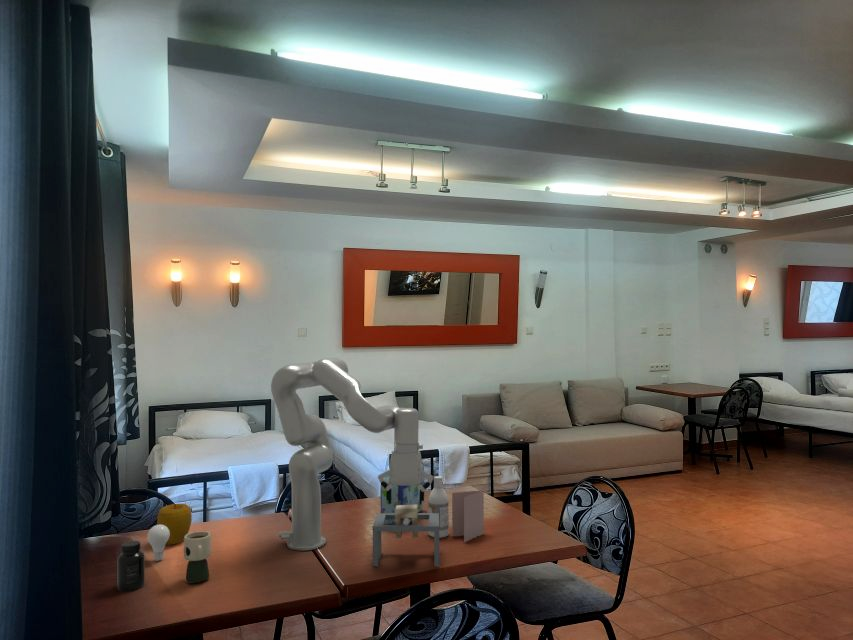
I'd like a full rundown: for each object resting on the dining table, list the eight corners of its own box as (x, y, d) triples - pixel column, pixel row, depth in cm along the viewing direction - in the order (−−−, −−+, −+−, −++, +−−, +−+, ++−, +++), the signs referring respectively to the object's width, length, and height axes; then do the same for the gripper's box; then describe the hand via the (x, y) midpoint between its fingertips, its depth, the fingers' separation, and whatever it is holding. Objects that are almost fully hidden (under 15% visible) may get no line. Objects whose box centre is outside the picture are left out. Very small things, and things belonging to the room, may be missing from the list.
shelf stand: (372, 566, 181) (372, 521, 181) (376, 550, 194) (376, 508, 194) (439, 566, 181) (439, 521, 181) (438, 550, 194) (438, 508, 194)
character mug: (181, 576, 175) (181, 531, 175) (207, 571, 178) (207, 527, 178) (186, 590, 165) (186, 542, 165) (213, 585, 168) (213, 538, 169)
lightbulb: (148, 558, 188) (148, 523, 189) (170, 555, 191) (170, 520, 191) (146, 565, 183) (146, 529, 183) (169, 562, 185) (169, 526, 185)
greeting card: (482, 532, 211) (482, 489, 211) (490, 539, 203) (490, 495, 204) (451, 535, 208) (451, 492, 208) (458, 543, 200) (458, 497, 201)
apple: (184, 548, 197) (184, 508, 197) (150, 548, 197) (151, 509, 197) (196, 536, 208) (196, 499, 208) (165, 537, 208) (165, 499, 208)
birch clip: (396, 538, 184) (394, 512, 184) (397, 530, 191) (396, 505, 191) (417, 537, 184) (416, 511, 184) (418, 529, 191) (417, 504, 191)
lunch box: (405, 531, 213) (404, 471, 213) (377, 528, 216) (376, 469, 216) (427, 510, 237) (427, 456, 238) (402, 507, 241) (402, 455, 241)
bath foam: (426, 532, 211) (425, 475, 211) (444, 530, 213) (444, 473, 213) (432, 539, 204) (431, 480, 205) (451, 537, 206) (451, 478, 207)
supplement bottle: (148, 581, 171) (148, 539, 171) (138, 591, 164) (138, 547, 165) (124, 581, 171) (124, 539, 171) (112, 592, 164) (112, 548, 164)
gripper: (433, 446, 191) (432, 500, 191) (379, 445, 192) (378, 499, 192) (433, 451, 184) (432, 507, 184) (377, 450, 184) (376, 506, 184)
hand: (405, 503), depth 188 cm, fingers open, 9 cm apart
